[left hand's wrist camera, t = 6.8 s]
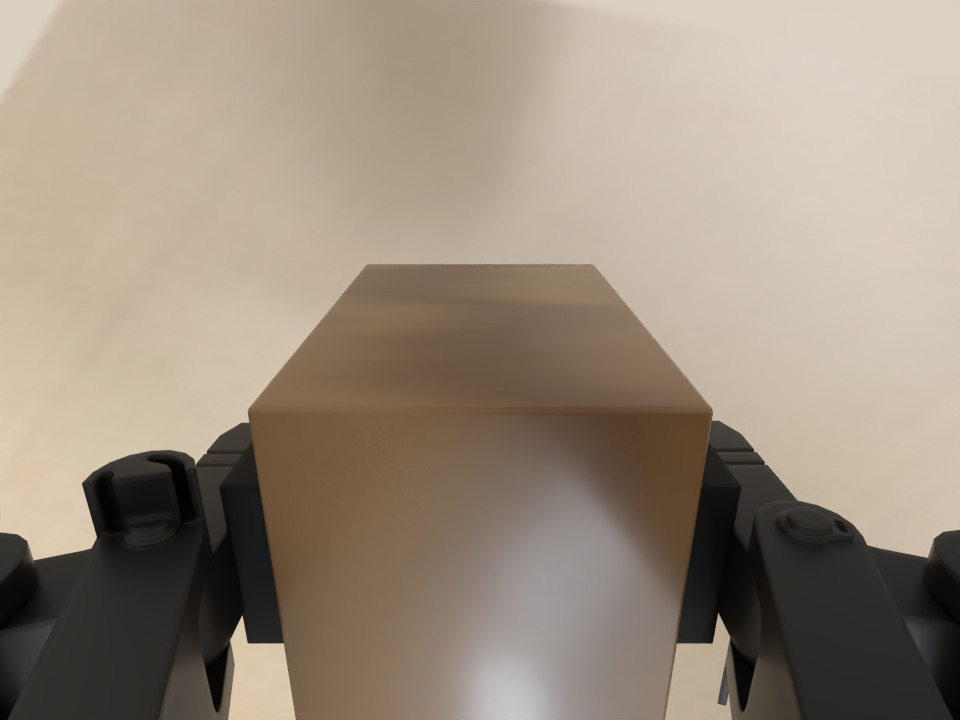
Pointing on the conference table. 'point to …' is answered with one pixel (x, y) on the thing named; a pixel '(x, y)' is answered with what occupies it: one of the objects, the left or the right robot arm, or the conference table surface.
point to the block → (480, 499)
